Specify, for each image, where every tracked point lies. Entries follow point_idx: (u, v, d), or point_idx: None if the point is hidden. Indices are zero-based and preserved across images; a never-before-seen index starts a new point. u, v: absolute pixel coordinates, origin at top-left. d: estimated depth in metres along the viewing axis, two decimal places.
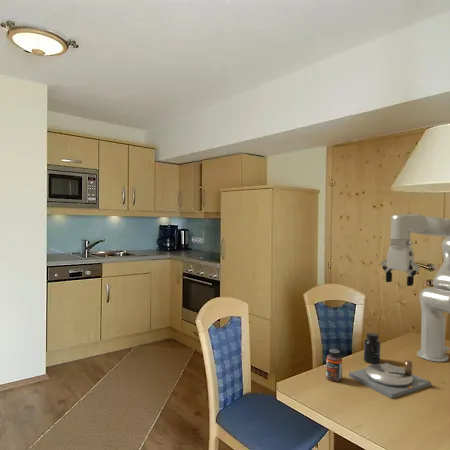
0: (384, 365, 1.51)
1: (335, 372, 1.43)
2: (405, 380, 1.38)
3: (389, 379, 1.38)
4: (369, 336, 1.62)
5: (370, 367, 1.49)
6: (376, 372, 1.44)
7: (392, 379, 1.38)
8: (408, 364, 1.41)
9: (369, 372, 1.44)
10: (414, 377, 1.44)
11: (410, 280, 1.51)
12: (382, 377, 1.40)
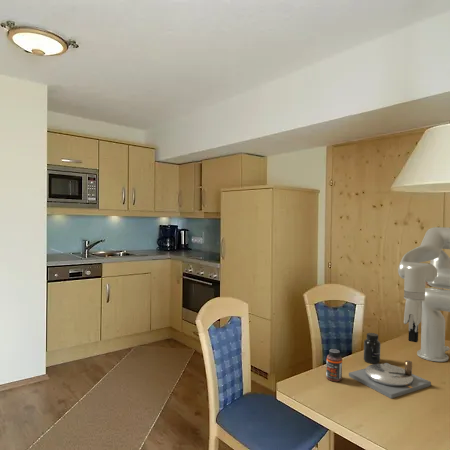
0: (384, 365, 1.51)
1: (335, 372, 1.43)
2: (405, 380, 1.38)
3: (389, 379, 1.38)
4: (369, 336, 1.62)
5: (370, 367, 1.49)
6: (376, 372, 1.44)
7: (392, 379, 1.38)
8: (408, 364, 1.41)
9: (369, 372, 1.44)
10: (414, 377, 1.44)
11: None
12: (382, 377, 1.40)
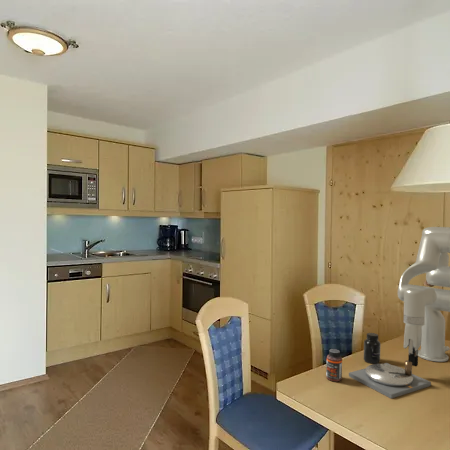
0: (384, 365, 1.51)
1: (335, 372, 1.43)
2: (405, 380, 1.38)
3: (389, 379, 1.38)
4: (369, 336, 1.62)
5: (370, 367, 1.49)
6: (376, 372, 1.44)
7: (392, 379, 1.38)
8: (408, 364, 1.41)
9: (369, 372, 1.44)
10: (414, 377, 1.44)
11: None
12: (382, 377, 1.40)
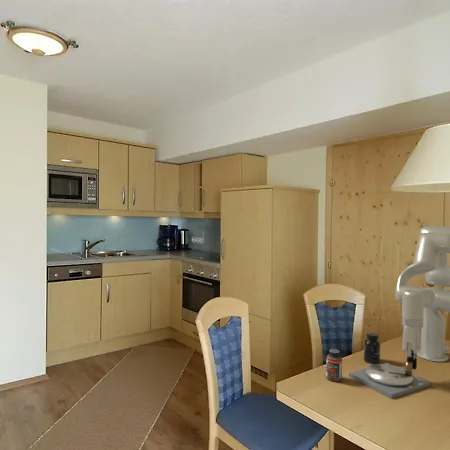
0: (385, 365, 1.51)
1: (335, 372, 1.43)
2: (404, 380, 1.37)
3: (388, 378, 1.38)
4: (369, 336, 1.62)
5: (370, 367, 1.49)
6: (376, 372, 1.44)
7: (390, 379, 1.38)
8: (408, 364, 1.41)
9: (369, 371, 1.45)
10: (414, 377, 1.44)
11: None
12: (381, 376, 1.40)
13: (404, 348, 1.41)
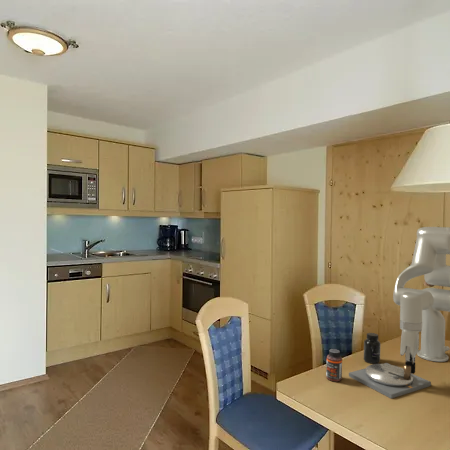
0: (396, 367, 1.49)
1: (335, 372, 1.43)
2: (394, 381, 1.37)
3: (379, 376, 1.41)
4: (369, 336, 1.62)
5: (377, 365, 1.51)
6: (376, 369, 1.47)
7: (380, 377, 1.40)
8: (405, 367, 1.38)
9: (368, 367, 1.49)
10: (414, 377, 1.44)
11: None
12: (375, 373, 1.43)
13: (402, 352, 1.38)
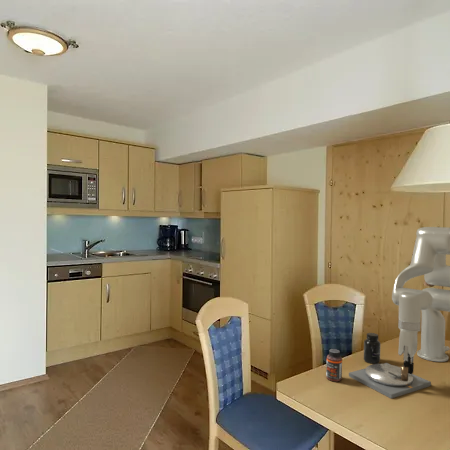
0: (400, 369, 1.47)
1: (335, 372, 1.43)
2: (389, 380, 1.37)
3: (376, 374, 1.42)
4: (369, 336, 1.62)
5: (381, 365, 1.51)
6: (377, 368, 1.48)
7: (376, 375, 1.41)
8: (401, 368, 1.37)
9: (370, 366, 1.50)
10: (414, 377, 1.44)
11: None
12: (373, 371, 1.45)
13: (400, 352, 1.38)
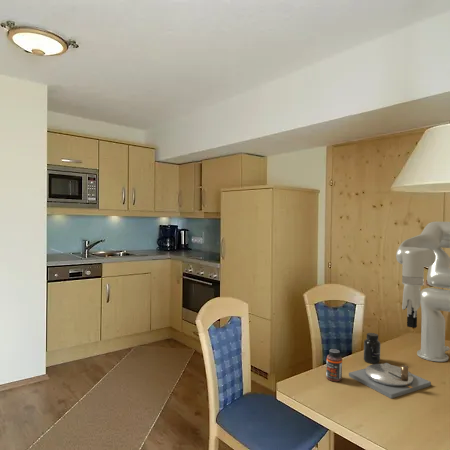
0: (400, 369, 1.47)
1: (335, 372, 1.43)
2: (389, 380, 1.37)
3: (376, 374, 1.42)
4: (369, 336, 1.62)
5: (381, 365, 1.51)
6: (377, 368, 1.48)
7: (376, 375, 1.41)
8: (401, 368, 1.37)
9: (370, 366, 1.50)
10: (414, 377, 1.44)
11: None
12: (373, 371, 1.45)
13: (404, 306, 1.42)
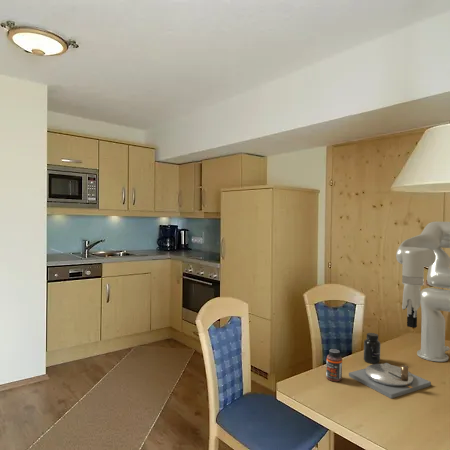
0: (400, 369, 1.47)
1: (335, 372, 1.43)
2: (389, 380, 1.37)
3: (376, 374, 1.42)
4: (369, 336, 1.62)
5: (381, 365, 1.51)
6: (377, 368, 1.48)
7: (376, 375, 1.41)
8: (401, 368, 1.37)
9: (370, 366, 1.50)
10: (414, 377, 1.44)
11: None
12: (373, 371, 1.45)
13: (404, 306, 1.42)
